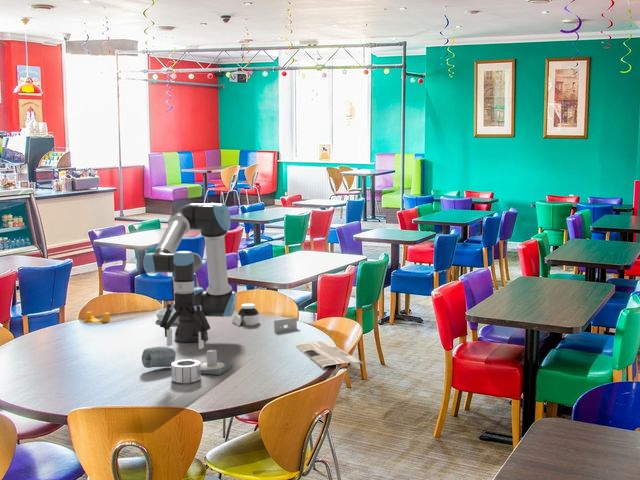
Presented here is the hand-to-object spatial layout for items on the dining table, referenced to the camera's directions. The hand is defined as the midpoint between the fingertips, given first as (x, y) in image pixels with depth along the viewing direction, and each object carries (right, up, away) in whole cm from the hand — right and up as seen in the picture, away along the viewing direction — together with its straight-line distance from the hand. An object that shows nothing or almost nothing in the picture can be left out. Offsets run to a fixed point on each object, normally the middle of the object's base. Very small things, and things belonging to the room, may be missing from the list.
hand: (185, 346), depth 292 cm
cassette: (+35, -4, +72) cm, 80 cm away
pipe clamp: (-61, -3, +93) cm, 111 cm away
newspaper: (+55, -9, +32) cm, 65 cm away
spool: (-15, -11, +14) cm, 23 cm away
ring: (0, -12, +2) cm, 12 cm away
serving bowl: (-21, -2, +96) cm, 98 cm away
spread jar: (+14, -3, +86) cm, 87 cm away
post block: (+8, -11, +14) cm, 19 cm away
